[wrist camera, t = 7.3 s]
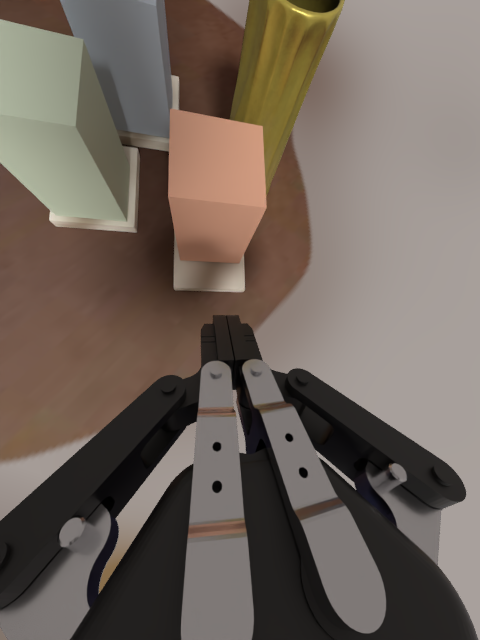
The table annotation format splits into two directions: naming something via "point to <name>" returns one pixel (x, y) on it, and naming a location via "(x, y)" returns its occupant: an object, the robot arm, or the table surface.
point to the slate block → (128, 59)
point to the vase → (280, 67)
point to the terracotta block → (215, 185)
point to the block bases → (185, 272)
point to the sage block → (59, 125)
